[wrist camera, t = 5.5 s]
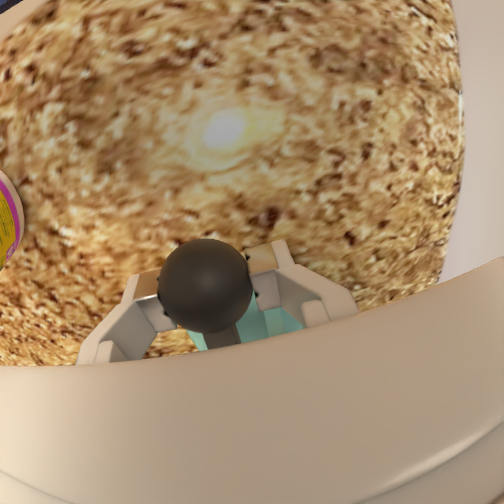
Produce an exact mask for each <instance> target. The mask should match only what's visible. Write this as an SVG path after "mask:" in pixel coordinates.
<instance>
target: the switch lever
mask: <svg viewBox="0 0 504 504" xmlns="http://www.w3.org/2000/svg"><path fill="white" fill-rule="evenodd" d="M158 289H159V296H160V300H161V303H162V305H163V307H164V309H165V311H166V312H167V314H168V315H169V316H170V318H171V319H172V320H173V321H174V322H176V323H177V324H178V325H180V326H181V327H183V328H185V329H187V330H189V331H192V332H196V333H202V335H203V338H204V341H205V343H206V346H207V348H208V350H209V349H214V348H220V347H225V346H230V345H235V344H240V343H241V340H240V337H239V333H238V330H237V327H236V324H235V323H237V322H238V321H239V320H240V319H241V318H242V316H243V315H244V314H245V313H246V311H247V309H248V307H249V305H250V302H251V299H252V295H253V288H252V285H251V281H250V277H249V273H248V267H247V262H246V261H245V259H244V258H243V256H242V255H241V254H240V253H239V252H238V251H237V250H236V249H234V248H233V247H232V246H230V245H228V244H226V243H224V242H222V241H219V240H215V239H196V240H192V241H189V242H186V243H184V244H182V245H181V246H179V247H178V248H176V249H175V250H174V251H173V252H172V253H171V254H170V255H169V256H168V258H167V259H166V261H165V262H164V264H163V266H162V269H161V272H160V275H159V282H158Z"/></svg>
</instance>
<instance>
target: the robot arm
mask: <svg viewBox="0 0 504 504" xmlns="http://www.w3.org/2000/svg"><path fill="white" fill-rule="evenodd" d="M244 251H245V256H246V260H247V267H248V273H249V277H250V281H251V285H252V288H253V290H254V294H255V299H256V303H257V306H258V309H259V312H261V311H266V310H271V309H276V308H280V307H282V309H284V310H285V311H286V312H287V313H289V314H290V315H291V316H292V317H293V318H295V319H296V320H297V321H298V322H299V323H301V324H302V325H303V329H301V330H297V331H293V332H289V333H285V334H281V335H277V336H273V337H268V338H264V339H259V340H255V341H250V342H245V343H240V344H235V345H230V346H225V347H220V348H214V349H209V350H203V351H197V352H191V353H185V354H179V355H172V356H165V357H158V358H150V359H142V358H143V356H144V354H145V353H146V351H147V350H148V348H149V346H150V345H151V343H152V342H153V340H154V339H155V337H156V335H157V333H159V332H164V331H169V330H173V329H177V323H176V322H174V321H173V320H172V319H171V318H170V316H169V315H168V314H167V312H166V311H165V309H164V307H163V305H162V303H161V300H160V296H159V289H158V282H159V275H160V272H161V269H157V270H153V271H148V272H144V273H139V274H135V275H131V276H130V277H129V278H128V281H127V284H126V287H125V290H124V294H123V297H122V300H121V304H117V305H116V306H115V307H114V308H113V310H112V311H111V312H110V313H109V314H108V315H107V316H106V317H105V318H104V319H103V320H102V321H101V322H100V323H99V324H98V326H97V327H96V328H95V329H94V330H93V331H92V332H91V333H90V334H89V335H88V337H87V338H86V339H85V340H84V341H83V342H82V344H81V347H80V350H79V354H78V357H77V360H76V364H75V365H64V366H6V365H0V504H504V257H500V258H497V259H495V260H493V261H491V262H489V263H487V264H484V265H482V266H480V267H478V268H476V269H474V270H472V271H469V272H467V273H465V274H462V275H460V276H458V277H455V278H453V279H451V280H448V281H446V282H443V283H441V284H438V285H436V286H433V287H431V288H428V289H426V290H423V291H421V292H418V293H415V294H413V295H410V296H407V297H404V298H402V299H399V300H396V301H393V302H390V303H387V304H384V305H382V306H379V307H376V308H373V309H369V310H366V311H363V312H360V311H359V309H358V307H357V305H356V303H355V301H354V299H353V297H352V295H351V294H350V292H349V290H348V289H346V288H345V287H343V286H341V285H339V284H337V283H335V282H333V281H331V280H329V279H327V278H325V277H323V276H321V275H319V274H317V273H315V272H314V271H312V270H310V269H308V268H306V267H304V266H302V265H300V264H296V265H295V264H294V262H293V259H292V257H291V254H290V252H289V249H288V247H287V244H286V242H285V240H284V239H280V240H277V241H273V242H271V243H266V244H262V245H258V246H255V247H251V248H247V249H244Z"/></svg>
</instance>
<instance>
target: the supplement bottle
mask: <svg viewBox="0 0 504 504" xmlns="http://www.w3.org/2000/svg"><path fill="white" fill-rule="evenodd" d="M23 233H24V213H23V207H22V203H21V200H20V197H19V195H18V193H17V191H16V189H15V187H14V186H13V184H12V182H11V181H10V179H9V178H8V177H7V176H6V175H5V174H4V173H3V172H2V171H1V170H0V271H1V270H2V268H3V267H4V265H5V264H6V263H7V261H8V260H9V258H10V257H11V256H12V254H13V253H14V251H15V250H16V249H17V247H18V246H19V244H20V242H21V240H22V237H23Z"/></svg>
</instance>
